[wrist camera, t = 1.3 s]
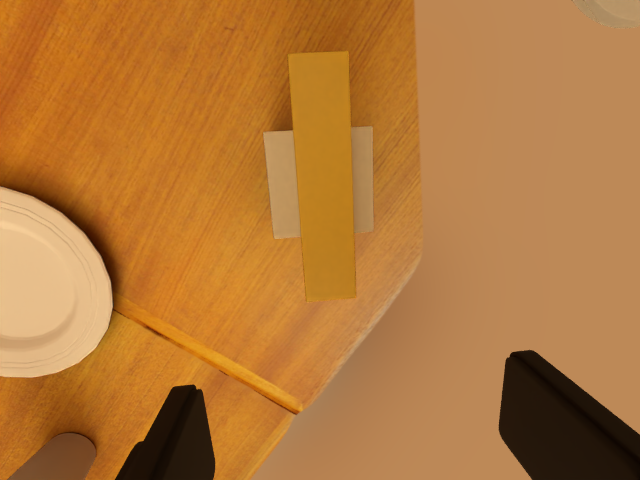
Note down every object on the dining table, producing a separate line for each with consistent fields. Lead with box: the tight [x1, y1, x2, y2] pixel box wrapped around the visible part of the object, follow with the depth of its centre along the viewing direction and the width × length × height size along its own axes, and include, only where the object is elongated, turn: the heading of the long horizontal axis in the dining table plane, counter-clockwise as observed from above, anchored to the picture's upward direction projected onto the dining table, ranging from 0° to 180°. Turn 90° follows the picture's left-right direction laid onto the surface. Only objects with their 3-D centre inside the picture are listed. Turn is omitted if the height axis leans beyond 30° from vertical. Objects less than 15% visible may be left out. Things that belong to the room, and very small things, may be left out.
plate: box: [0, 186, 114, 377], centre depth 32 cm, size 21×21×2 cm
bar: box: [287, 51, 356, 302], centre depth 19 cm, size 14×3×3 cm, turn 3°
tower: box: [263, 126, 374, 239], centre depth 26 cm, size 8×8×12 cm
